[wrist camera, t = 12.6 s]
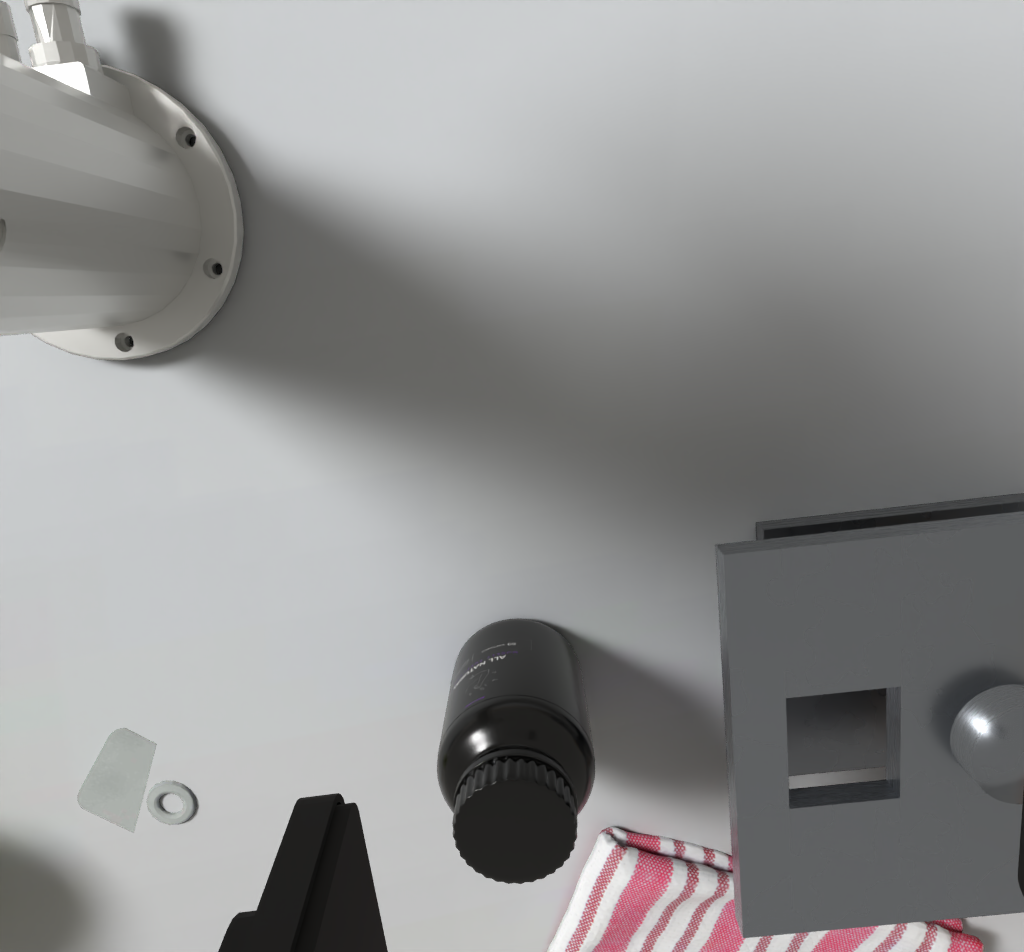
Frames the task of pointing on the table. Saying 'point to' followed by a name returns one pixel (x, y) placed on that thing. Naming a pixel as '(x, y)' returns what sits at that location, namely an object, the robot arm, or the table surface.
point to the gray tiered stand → (875, 715)
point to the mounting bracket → (129, 784)
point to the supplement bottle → (516, 751)
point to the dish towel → (702, 908)
